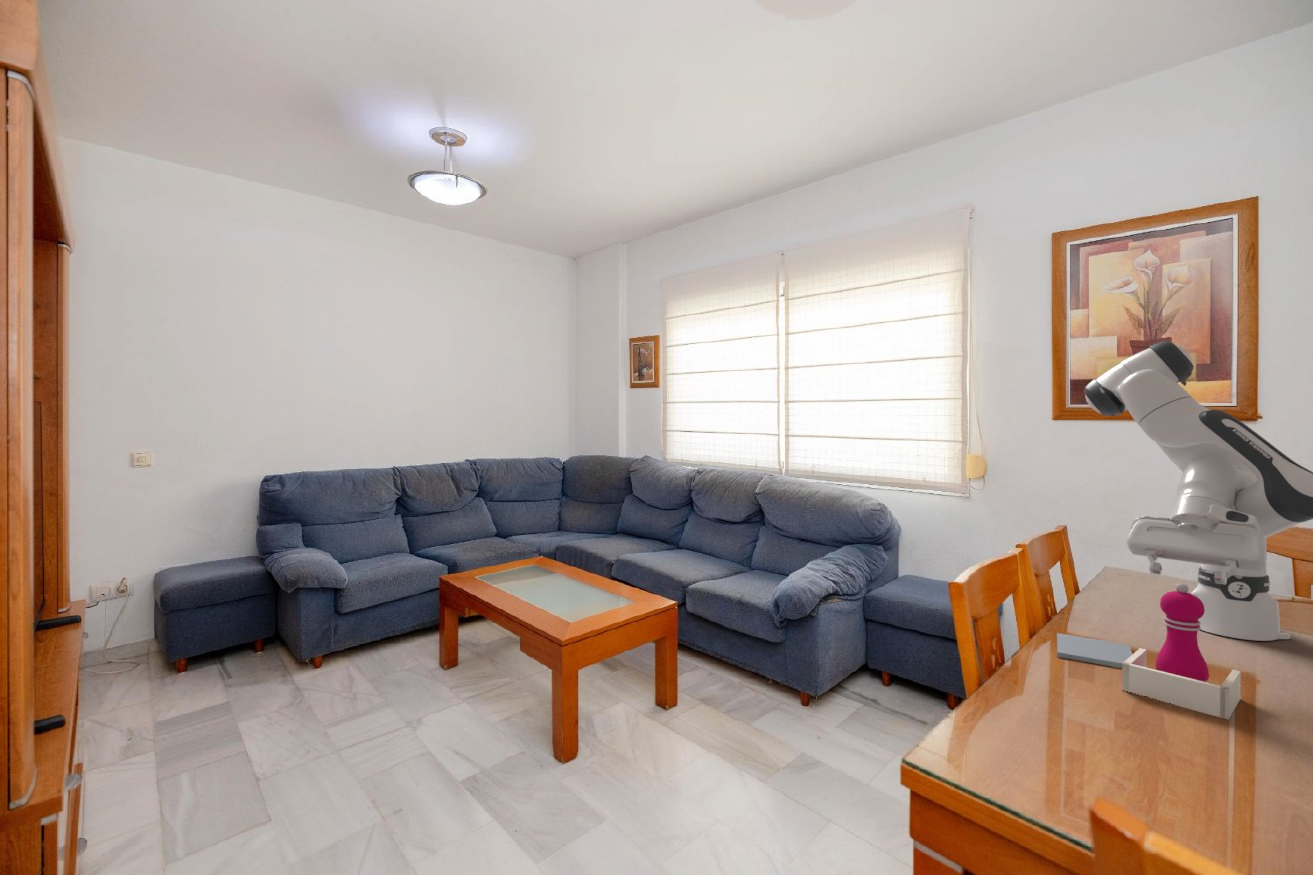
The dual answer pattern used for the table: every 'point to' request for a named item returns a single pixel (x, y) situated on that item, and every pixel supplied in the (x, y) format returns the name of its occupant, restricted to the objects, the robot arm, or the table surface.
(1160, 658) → the pepper mill
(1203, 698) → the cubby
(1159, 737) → the table surface
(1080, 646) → the pad
